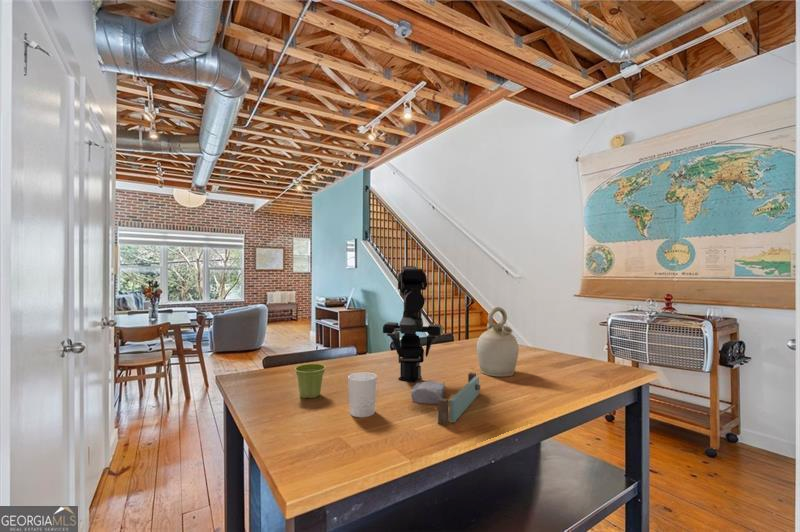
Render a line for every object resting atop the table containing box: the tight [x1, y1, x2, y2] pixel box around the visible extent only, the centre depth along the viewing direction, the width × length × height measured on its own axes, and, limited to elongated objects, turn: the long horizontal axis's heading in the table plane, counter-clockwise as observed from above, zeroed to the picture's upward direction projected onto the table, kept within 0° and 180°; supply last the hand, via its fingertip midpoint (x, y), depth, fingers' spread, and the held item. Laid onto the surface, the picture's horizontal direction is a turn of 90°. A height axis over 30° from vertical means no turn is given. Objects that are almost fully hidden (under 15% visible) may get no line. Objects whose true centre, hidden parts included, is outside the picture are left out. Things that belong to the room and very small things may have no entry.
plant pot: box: [294, 363, 327, 399], centre depth 113 cm, size 9×9×9 cm
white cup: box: [347, 371, 378, 418], centre depth 99 cm, size 8×8×10 cm
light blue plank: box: [437, 372, 477, 426], centre depth 104 cm, size 2×28×6 cm, turn 153°
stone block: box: [410, 380, 446, 405], centre depth 112 cm, size 12×5×10 cm
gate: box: [449, 375, 481, 423], centre depth 103 cm, size 2×23×6 cm, turn 152°
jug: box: [476, 306, 520, 378], centre depth 139 cm, size 15×16×25 cm
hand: (412, 355), depth 117 cm, fingers open, 9 cm apart
